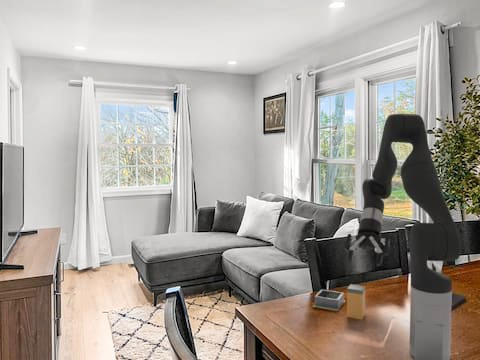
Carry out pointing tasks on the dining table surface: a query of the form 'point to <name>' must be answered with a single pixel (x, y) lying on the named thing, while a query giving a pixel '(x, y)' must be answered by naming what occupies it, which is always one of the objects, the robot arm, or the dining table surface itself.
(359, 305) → the chute block
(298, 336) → the dining table surface
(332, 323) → the dining table surface
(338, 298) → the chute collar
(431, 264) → the beer glass
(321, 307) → the cream flat slab
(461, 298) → the smart home device
